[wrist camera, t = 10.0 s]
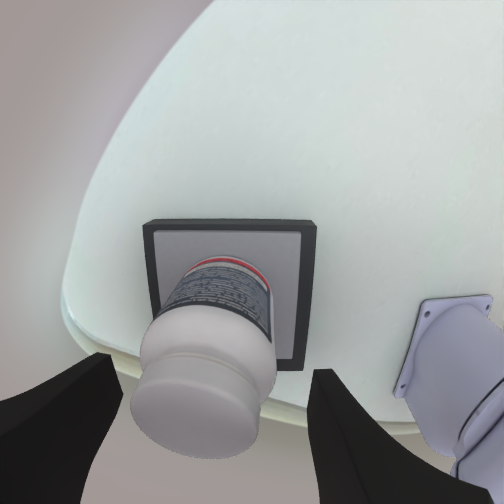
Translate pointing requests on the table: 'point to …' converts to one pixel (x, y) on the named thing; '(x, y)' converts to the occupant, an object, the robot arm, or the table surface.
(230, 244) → the scale
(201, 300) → the pill bottle
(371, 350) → the table surface
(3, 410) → the robot arm
